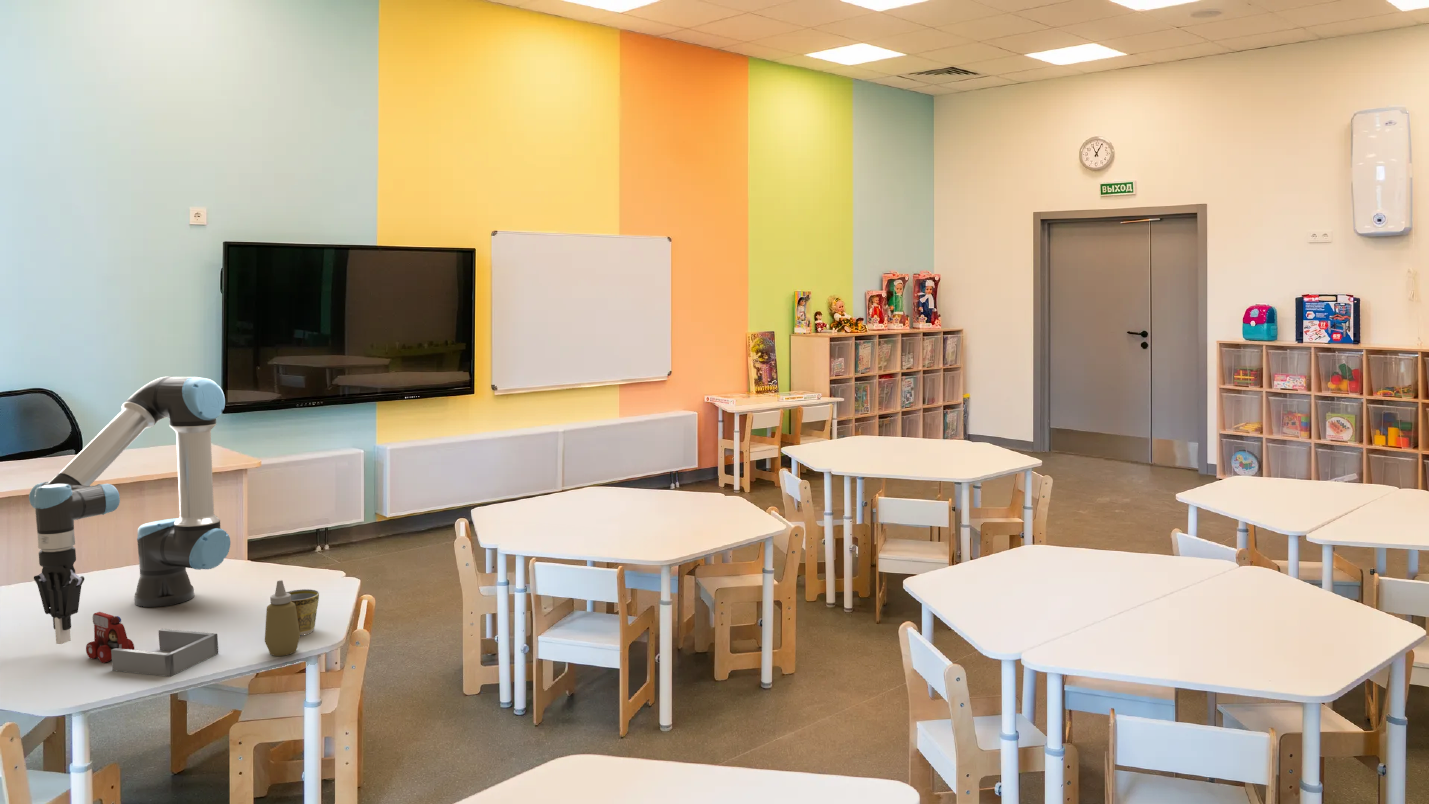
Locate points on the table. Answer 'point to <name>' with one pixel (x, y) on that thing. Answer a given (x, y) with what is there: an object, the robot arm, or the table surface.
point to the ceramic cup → (305, 608)
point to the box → (185, 653)
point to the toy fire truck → (107, 637)
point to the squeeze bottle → (281, 623)
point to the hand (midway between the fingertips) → (63, 642)
